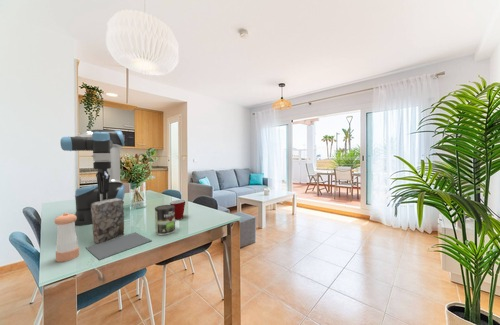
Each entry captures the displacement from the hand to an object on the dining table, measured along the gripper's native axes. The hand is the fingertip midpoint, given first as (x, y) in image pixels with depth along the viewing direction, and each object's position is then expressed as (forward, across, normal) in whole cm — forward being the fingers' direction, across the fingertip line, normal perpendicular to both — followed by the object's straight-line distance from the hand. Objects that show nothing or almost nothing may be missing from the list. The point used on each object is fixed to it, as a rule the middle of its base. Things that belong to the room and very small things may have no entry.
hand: (104, 205), depth 106 cm
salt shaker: (+17, +14, -18) cm, 28 cm away
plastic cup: (+17, +6, +40) cm, 44 cm away
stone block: (+17, +5, 0) cm, 18 cm away
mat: (+17, +18, 0) cm, 25 cm away
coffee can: (+17, +21, +22) cm, 35 cm away
